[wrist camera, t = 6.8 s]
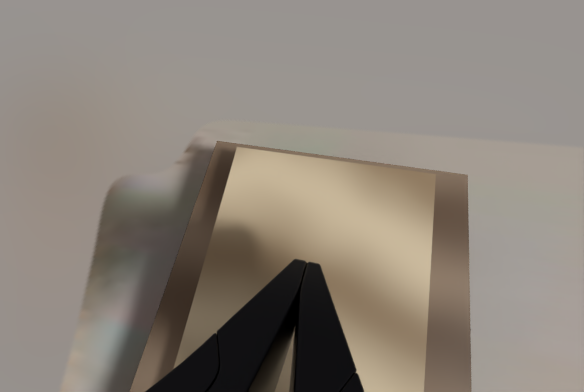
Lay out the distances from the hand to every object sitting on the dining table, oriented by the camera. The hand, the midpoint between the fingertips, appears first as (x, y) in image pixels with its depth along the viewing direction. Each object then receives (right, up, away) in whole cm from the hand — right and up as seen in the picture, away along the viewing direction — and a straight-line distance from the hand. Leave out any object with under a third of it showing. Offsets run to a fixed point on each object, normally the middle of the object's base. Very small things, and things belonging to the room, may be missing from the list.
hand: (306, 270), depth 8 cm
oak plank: (0, -2, +4) cm, 4 cm away
